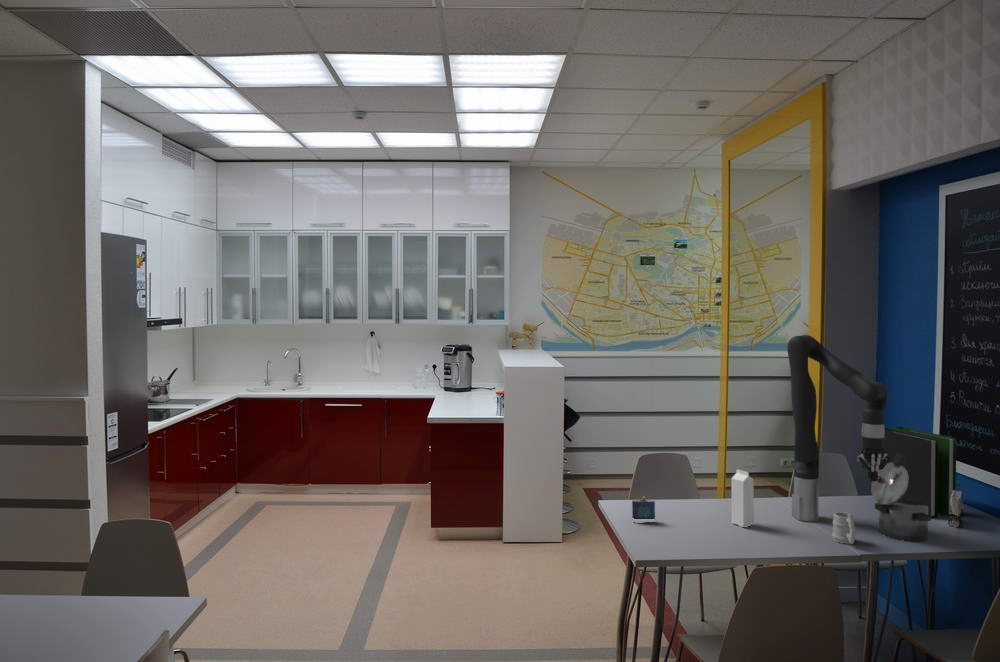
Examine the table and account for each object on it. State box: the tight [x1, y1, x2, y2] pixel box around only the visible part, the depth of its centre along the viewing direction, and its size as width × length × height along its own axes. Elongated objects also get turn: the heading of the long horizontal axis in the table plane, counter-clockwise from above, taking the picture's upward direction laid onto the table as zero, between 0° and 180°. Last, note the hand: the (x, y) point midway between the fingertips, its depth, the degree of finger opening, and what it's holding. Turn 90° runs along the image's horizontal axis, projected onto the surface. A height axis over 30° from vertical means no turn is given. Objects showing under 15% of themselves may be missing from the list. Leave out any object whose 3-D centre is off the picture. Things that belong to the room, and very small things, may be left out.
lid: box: [870, 453, 909, 506], centre depth 249 cm, size 20×17×4 cm
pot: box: [874, 498, 932, 543], centre depth 250 cm, size 17×25×12 cm
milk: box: [731, 468, 755, 527], centre depth 264 cm, size 6×6×22 cm
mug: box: [831, 511, 856, 545], centre depth 243 cm, size 8×12×12 cm, turn 177°
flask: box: [631, 495, 656, 520], centre depth 269 cm, size 9×3×11 cm, turn 88°
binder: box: [884, 426, 957, 519], centre depth 281 cm, size 27×15×32 cm, turn 13°
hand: (872, 480), depth 249 cm, fingers closed
